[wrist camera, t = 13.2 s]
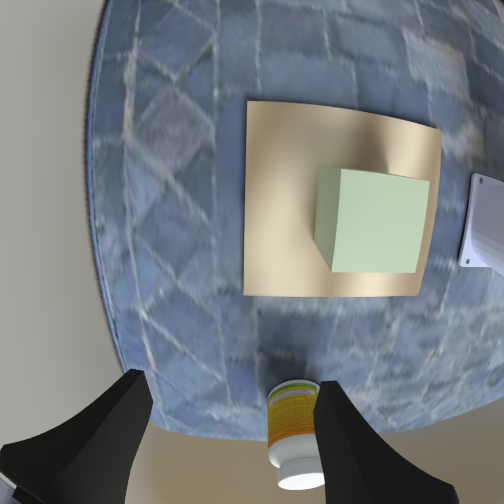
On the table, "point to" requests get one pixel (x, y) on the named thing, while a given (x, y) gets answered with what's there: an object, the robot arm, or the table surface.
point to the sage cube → (369, 220)
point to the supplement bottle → (294, 435)
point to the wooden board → (305, 193)
